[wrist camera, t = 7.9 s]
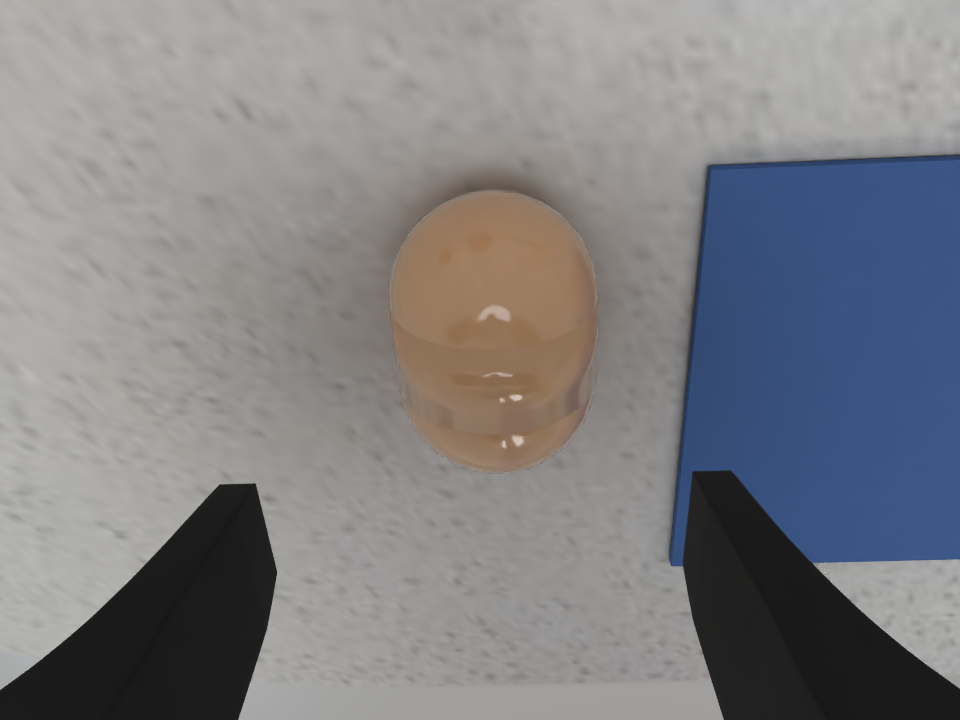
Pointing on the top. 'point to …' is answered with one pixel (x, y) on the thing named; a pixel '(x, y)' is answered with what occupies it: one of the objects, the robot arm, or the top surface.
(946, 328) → the cloth
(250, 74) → the top surface
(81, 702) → the robot arm
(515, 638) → the top surface
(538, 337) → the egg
